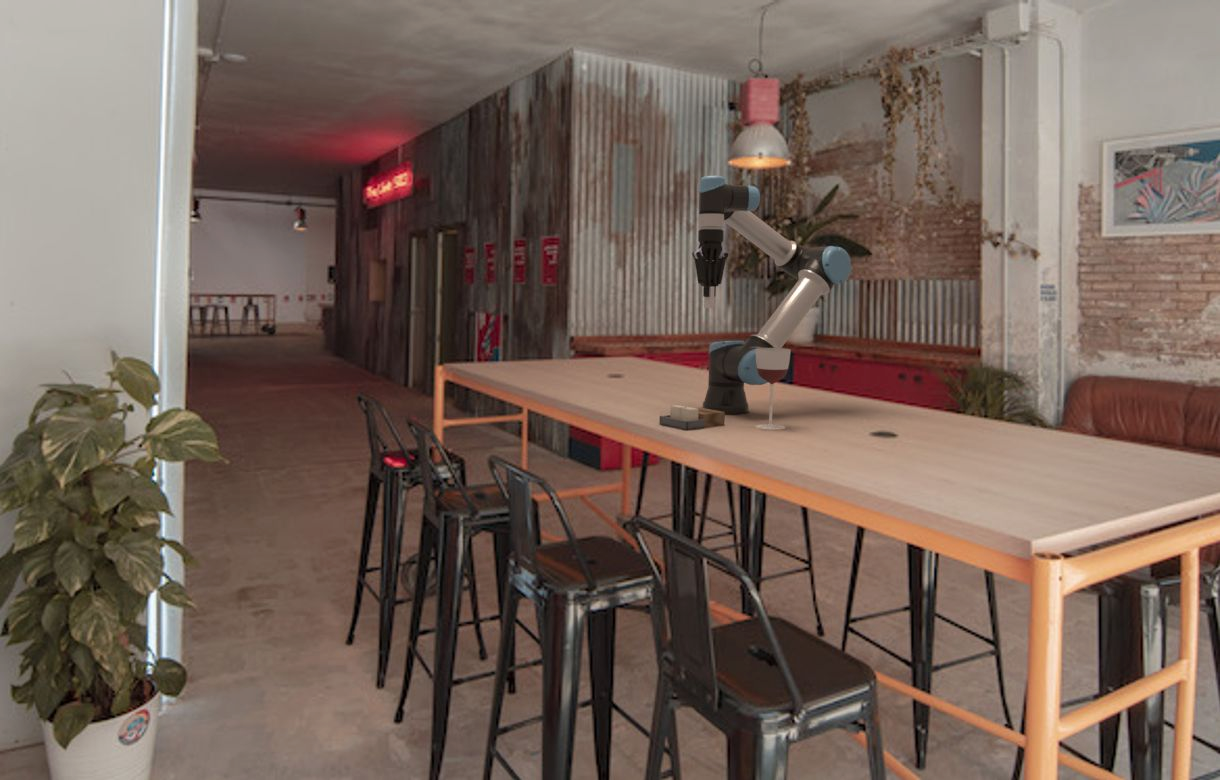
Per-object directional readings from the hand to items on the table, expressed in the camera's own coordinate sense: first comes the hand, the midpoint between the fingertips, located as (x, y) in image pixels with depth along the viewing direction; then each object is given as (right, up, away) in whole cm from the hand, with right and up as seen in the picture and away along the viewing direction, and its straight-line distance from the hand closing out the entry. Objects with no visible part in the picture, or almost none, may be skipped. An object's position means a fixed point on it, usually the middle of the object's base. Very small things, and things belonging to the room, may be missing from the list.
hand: (709, 307), depth 256 cm
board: (-3, -35, -4) cm, 35 cm away
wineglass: (+17, -36, -7) cm, 41 cm away
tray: (-9, -36, -8) cm, 38 cm away
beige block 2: (-6, -33, -9) cm, 34 cm away
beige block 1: (-9, -32, -5) cm, 34 cm away
